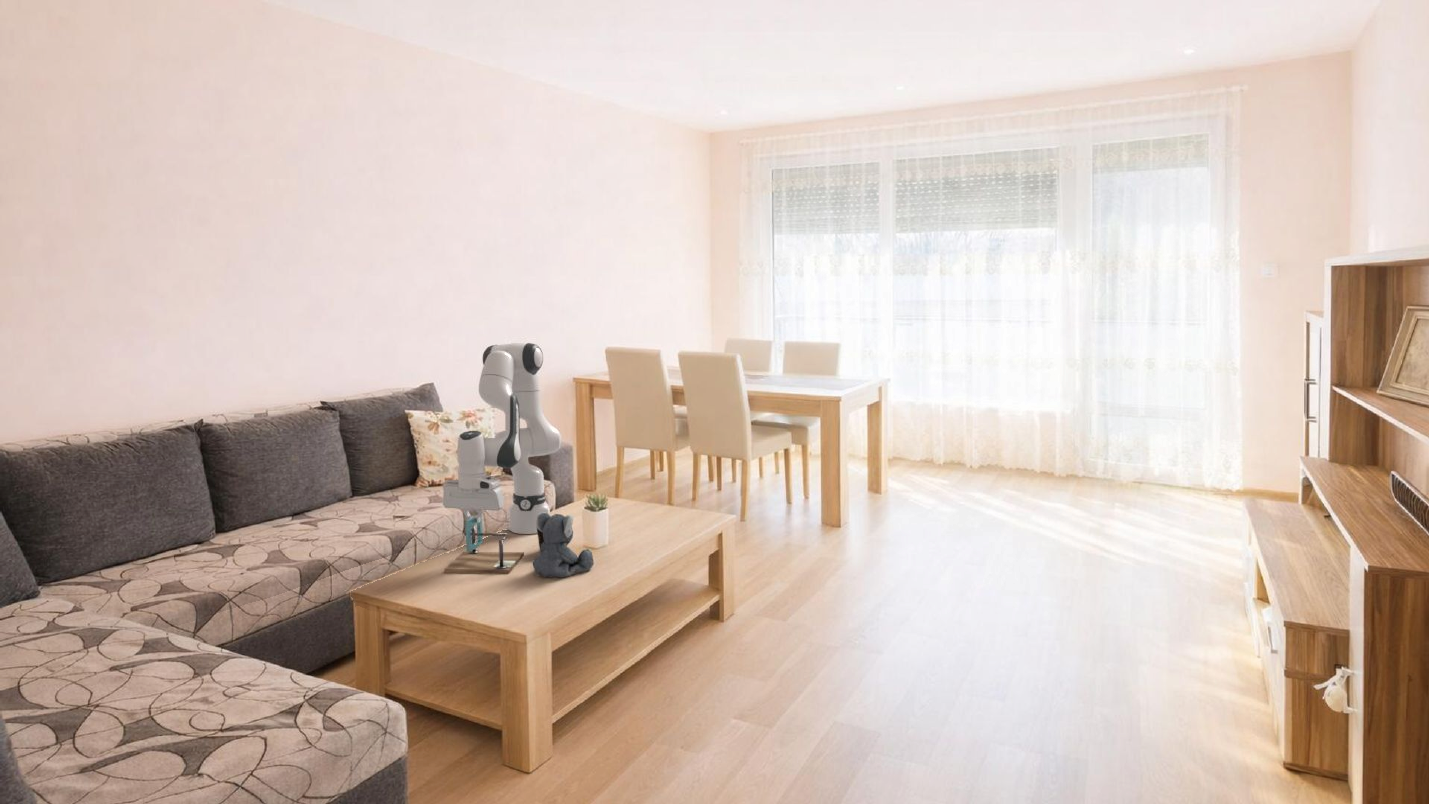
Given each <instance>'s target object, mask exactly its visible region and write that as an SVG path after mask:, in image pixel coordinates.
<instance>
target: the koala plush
mask: <svg viewBox="0 0 1429 804" xmlns="http://www.w3.org/2000/svg"><path fill="white" fill-rule="evenodd" d="M536 517H537V519H536V527H537V529H539V530H540V531H541V532H543V538H544V542H543V543H542V544H541V547H540V548H539V553H538V555H537V556H535V557H534V559H533V561H532V567H533V569H534V572H535V575H536V576H539V577H541V578H548V579H549V578H552V577H555V578H559V579H560V578H565V577H571V576H572V575H573V574H580V573H581V574H582V573H584V572H585V573H586V572H587V571H589V570H590V569H592V568H593V566H594V565H595V563H594V557H593V551H592V550H591V549H588V548H586V549H583V550H581V552H579V555H577V553H575V552H574V551H573V550H572V549H571V548H570V547H569V546H568V545H569V544H570V543H571V541H572V539H573V537H574V529H573V523H574V515H571V514H570V515H566V516H565V515H564V514H561V513H554V514H553V515H551V514H550V515H549V514H548V513H545V512H541V513H539V514H538V515H537V516H536Z"/></svg>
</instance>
